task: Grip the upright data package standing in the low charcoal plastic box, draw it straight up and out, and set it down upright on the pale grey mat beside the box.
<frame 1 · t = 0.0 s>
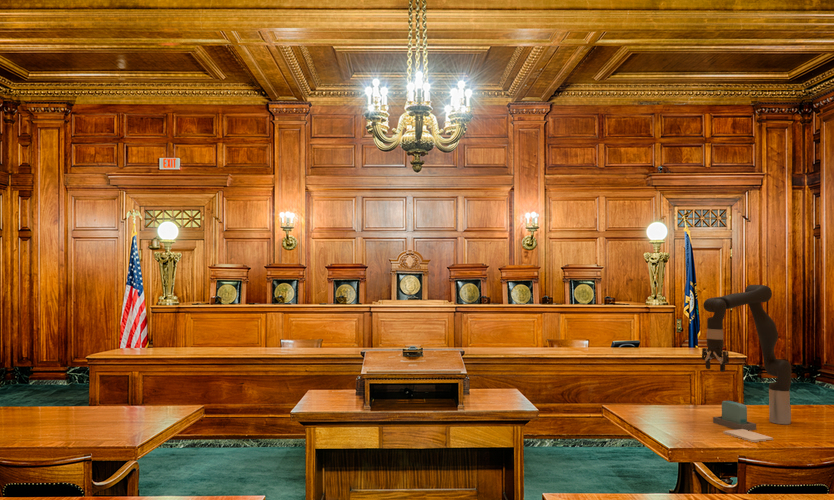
hand: (715, 370, 288), 29 cm above the table, tool pointing down, fingers open, 8 cm apart
holder box: (734, 426, 292), on the table
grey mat: (747, 436, 272), on the table
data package: (734, 426, 292), resting in holder box
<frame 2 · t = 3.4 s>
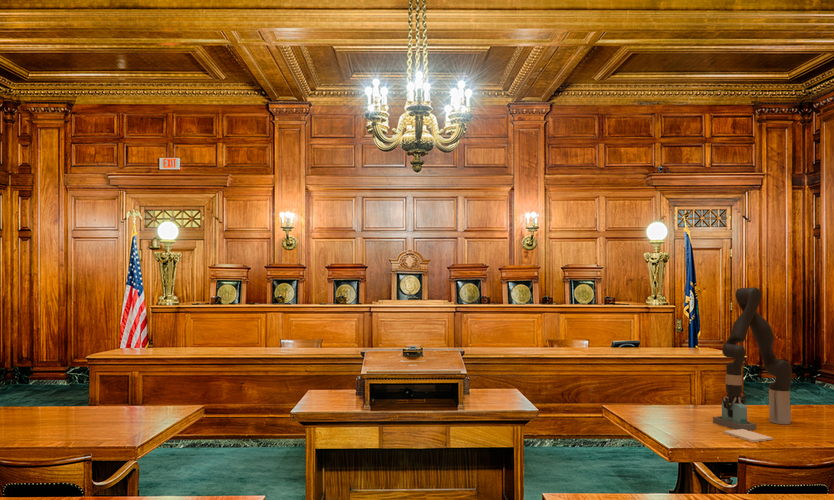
hand: (734, 416, 292), 5 cm above the table, tool pointing down, fingers closed on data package, 4 cm apart
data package: (734, 426, 292), resting in holder box, touching gripper
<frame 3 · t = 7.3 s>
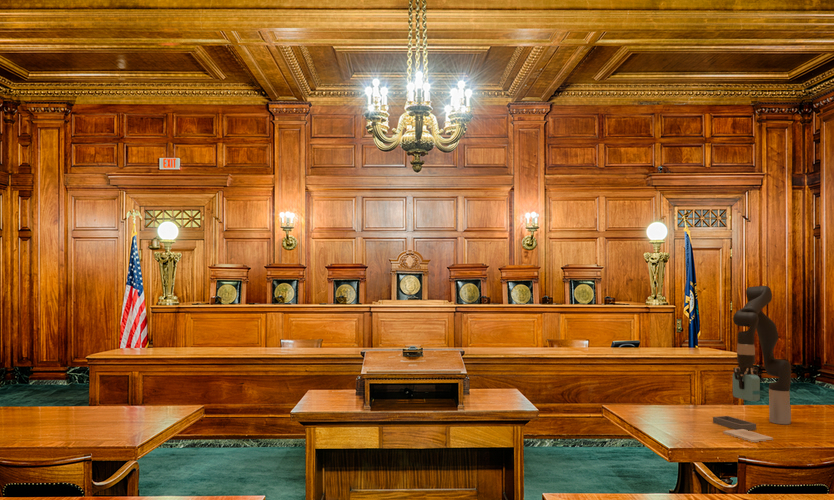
hand: (746, 388, 274), 23 cm above the table, tool pointing down, fingers closed on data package, 4 cm apart
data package: (746, 399, 274), point 18 cm above the table, touching gripper
when the fingers open (7 cm above the table, at t = 11.1 s): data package drops 1 cm, resting on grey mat.
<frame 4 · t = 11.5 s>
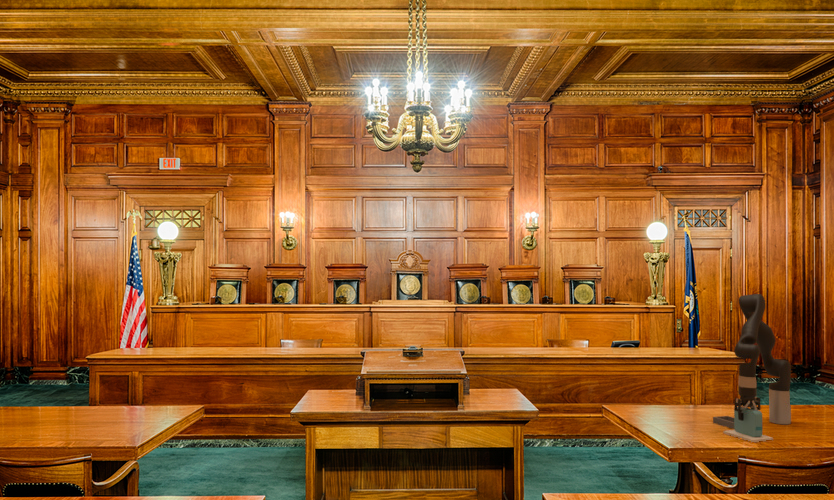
hand: (747, 419, 273), 8 cm above the table, tool pointing down, fingers open, 8 cm apart
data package: (748, 434, 273), point 1 cm above the table, touching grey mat
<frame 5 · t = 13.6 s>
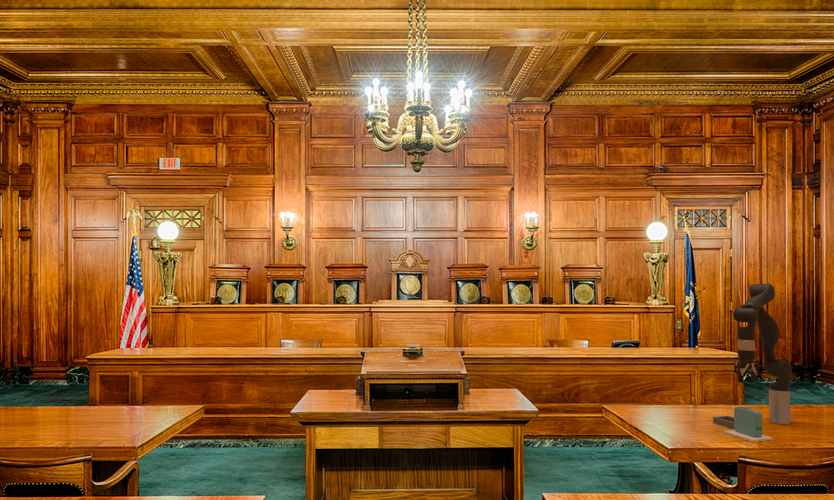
hand: (747, 382, 278), 25 cm above the table, tool pointing down, fingers open, 8 cm apart
nothing on the table moved.
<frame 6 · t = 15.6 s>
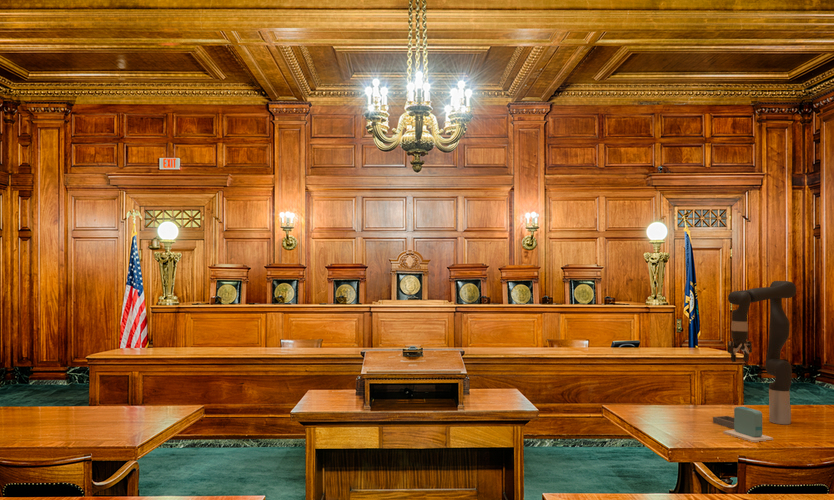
hand: (739, 361, 294), 33 cm above the table, tool pointing down, fingers open, 8 cm apart
nothing on the table moved.
at the end: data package inside the target area (0.4 cm from its centre), point 1.0 cm above the table; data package tilted 0°; the gripper is holding nothing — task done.
